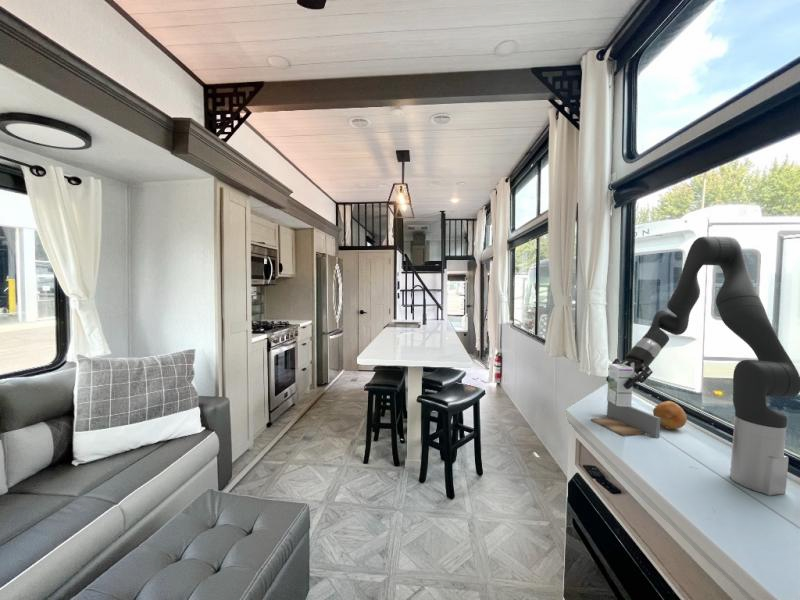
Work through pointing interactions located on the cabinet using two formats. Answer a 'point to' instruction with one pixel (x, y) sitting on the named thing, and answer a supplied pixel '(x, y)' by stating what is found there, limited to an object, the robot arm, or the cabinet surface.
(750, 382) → the robot arm
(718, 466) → the cabinet surface
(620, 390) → the syrup box
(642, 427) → the grey barrier panel
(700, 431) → the cabinet surface
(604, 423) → the walnut pad
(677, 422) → the onion
